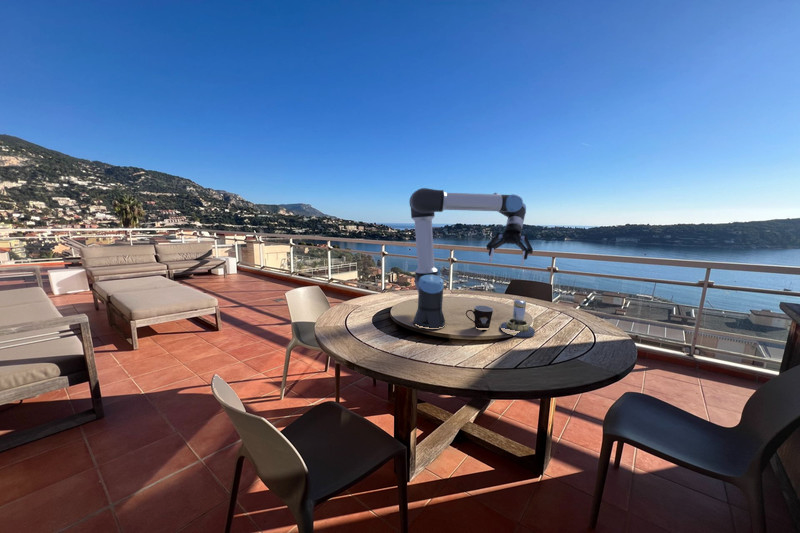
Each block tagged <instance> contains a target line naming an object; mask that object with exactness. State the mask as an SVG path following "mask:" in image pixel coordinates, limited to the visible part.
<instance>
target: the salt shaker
mask: <svg viewBox="0 0 800 533" xmlns="http://www.w3.org/2000/svg"><path fill="white" fill-rule="evenodd" d="M526 306H527V301H525V300H523V299H514V300H513V310H512V311H513V312H512V318H513V319H512V323H513V324H517V325H524V320H525V315H526Z"/></svg>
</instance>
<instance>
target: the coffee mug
mask: <svg viewBox="0 0 800 533" xmlns="http://www.w3.org/2000/svg"><path fill="white" fill-rule="evenodd" d="M469 312H472V313H473V315H474V319H473V318H470V317H469V316H468V313H469ZM493 312H494V308H493V307H490V306H488V305H474V309H473V310H472V309H468V310H466V312H465V315H466V318H467V319H469V320H470V321H471V322H472V323H474V328H475V327H477V328H489V329H490V326H491V320H492V316H493Z"/></svg>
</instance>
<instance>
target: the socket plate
mask: <svg viewBox="0 0 800 533" xmlns="http://www.w3.org/2000/svg"><path fill="white" fill-rule="evenodd" d="M512 319H513V317H511V318H507V319H506V321H505V322H502V323H501V324H500V326H499V328H500V327H501V328H505V329H510V330H515V331H520V332H519V333H517V334H516V335H515V336H513V337H514V338H521V339H527V338H528V339H529V338H532V337H534V336H535V334H536V329H534V327H532V326H530V324H531V323H530V322H529V321H527V320H525V319H524V325H517V324H513V323H512Z"/></svg>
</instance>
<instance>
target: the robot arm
mask: <svg viewBox="0 0 800 533" xmlns="http://www.w3.org/2000/svg"><path fill="white" fill-rule="evenodd" d="M408 203H409V207H410V215H411V216H410V217H411V218H410V219H412V220H413V221H414V230H415V232H414V233H415V244H416V245H415V246H416V260H417V268H416V270H414V272H415V273H414V274H415V281H414V284H415V288H416V290H417V292H418V294H417V295H418V297H417V310H416V313H415V315H414V318H413V324H414V323H415V324H417V325H419V326H423V327H429V328H439V327H443V326H444V325H445V326H446V321H445V316H444V313H443V302H444V300H443V299H444V287H445V285H444V279H443V278H442V277H441V276H440V275H439V270H438V268H436V266H435V256H434V255H435V253H434V238H433V236H434V234H433V219H434V218H435V213H437V212H438V213H443V211H472V212H473V211H474V212H475V211H478V212H497V213H500V214H501V215H503V216H504V217H506V218H507V220H506V224H505V228H504V233H503V234H501V233H500V232H497V233H496V235H495V236H494V237H493V238H492V239H491V240H490V241H489V242H488V243H487V244H486V250H487V251H488V256H489V257H488V258H489V259H488V260H489V263H492V262H493V258H494V254H495V250H496V249H498V248H500V247H501V246H502V245H505V244H510V245H511V244H512V245H514V244H515V245H516V246H517V247H518V248H519V249H520V250H521V252H522V256H521V261H520V266H521V267H523V266H524V262H525V260H528V255H530V254H531V255H532V254H533V252H534V251H533V250H534V249H533V248H532V244H531V243H530V241H529V239H528V234H524V235H522V230H523V225H524V221H525V218H526V213H527V205H526V203H524V201H523V198H522V197H521V196H520V195H518V194H514V193H513V194H512V193H511V194H501V193H498V192H494V193H492V194H491V193H467V192H466V193H465V192H464V193H463V192H446V191H445V190H444V189H441V190H440V189H433V188H427V187H426V188H425V187H424V188H423V187H422V188H419V189H417V190H416V191H414V192H412V194H410V198H409V202H408ZM521 240H522V241H523V242H524V243H523V242H522V241H521ZM445 326H444V327H445ZM444 327H443V328H444Z"/></svg>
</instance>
